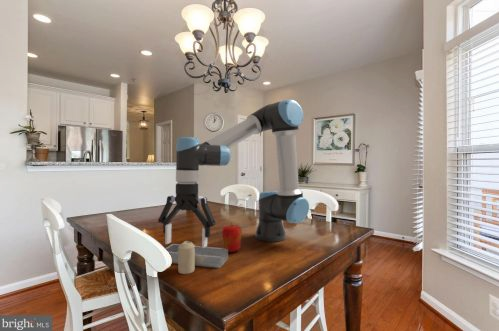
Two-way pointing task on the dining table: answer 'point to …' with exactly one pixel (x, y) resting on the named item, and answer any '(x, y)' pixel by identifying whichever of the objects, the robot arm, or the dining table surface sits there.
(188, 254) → the candle
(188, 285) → the dining table surface
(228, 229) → the apple
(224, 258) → the gray tray
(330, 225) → the dining table surface
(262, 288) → the dining table surface
